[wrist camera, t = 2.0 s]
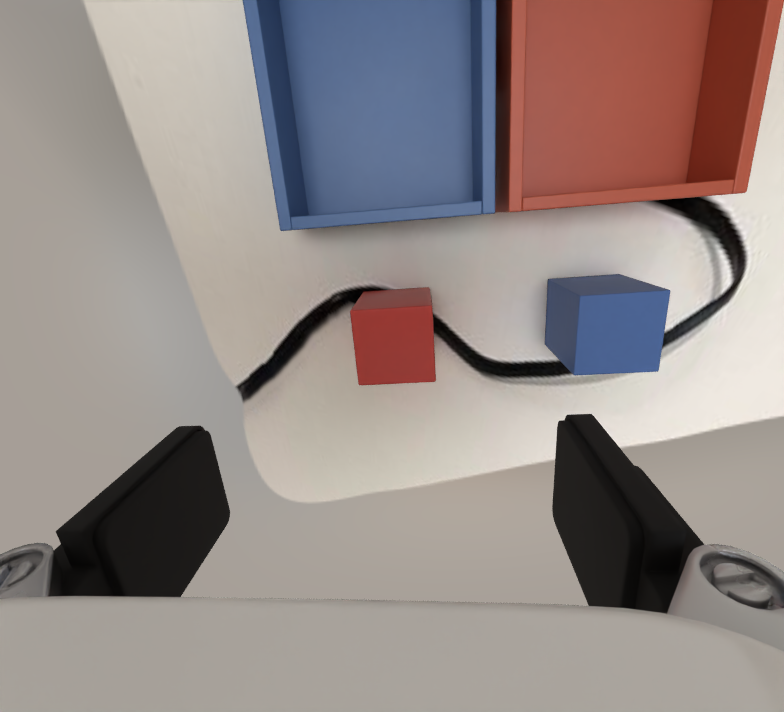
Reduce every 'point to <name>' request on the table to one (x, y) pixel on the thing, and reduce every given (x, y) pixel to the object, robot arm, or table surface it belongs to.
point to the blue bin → (376, 108)
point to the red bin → (628, 99)
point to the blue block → (606, 324)
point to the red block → (394, 336)
